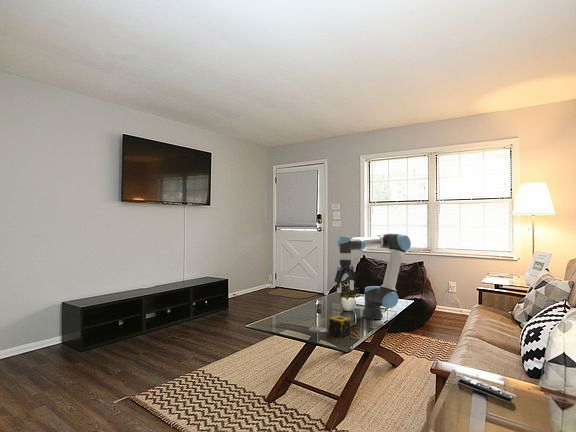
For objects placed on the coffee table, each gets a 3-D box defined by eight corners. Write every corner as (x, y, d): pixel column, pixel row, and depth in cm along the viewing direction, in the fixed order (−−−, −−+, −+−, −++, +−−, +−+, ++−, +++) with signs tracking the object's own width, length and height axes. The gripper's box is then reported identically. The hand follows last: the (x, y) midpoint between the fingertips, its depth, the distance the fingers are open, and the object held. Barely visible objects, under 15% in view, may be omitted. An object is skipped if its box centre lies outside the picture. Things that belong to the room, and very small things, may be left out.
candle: (327, 334, 213) (328, 317, 213) (337, 330, 220) (337, 315, 220) (341, 337, 206) (341, 321, 206) (350, 334, 213) (351, 318, 213)
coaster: (318, 326, 228) (318, 325, 228) (331, 331, 218) (331, 330, 218) (305, 329, 221) (305, 328, 221) (317, 334, 211) (317, 333, 211)
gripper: (351, 257, 239) (352, 288, 238) (328, 260, 222) (329, 293, 221) (360, 258, 233) (361, 289, 233) (338, 261, 216) (338, 294, 216)
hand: (345, 291), depth 227 cm, fingers open, 13 cm apart
